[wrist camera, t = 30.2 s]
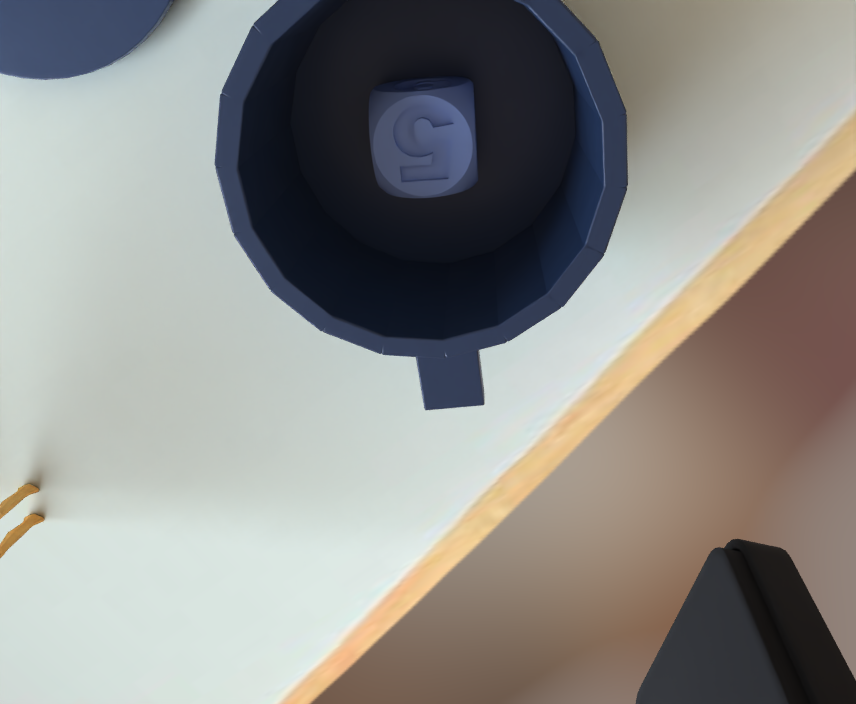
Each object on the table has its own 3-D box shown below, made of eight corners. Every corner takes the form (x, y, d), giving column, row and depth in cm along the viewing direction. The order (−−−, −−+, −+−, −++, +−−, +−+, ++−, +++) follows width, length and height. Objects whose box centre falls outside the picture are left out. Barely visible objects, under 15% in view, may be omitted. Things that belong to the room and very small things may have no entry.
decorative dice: (387, 176, 33) (376, 202, 29) (377, 81, 31) (364, 95, 28) (478, 170, 33) (478, 195, 29) (472, 73, 31) (472, 87, 27)
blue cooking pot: (581, -162, 27) (621, -209, 20) (599, 310, 36) (632, 402, 28) (225, -101, 29) (136, -123, 21) (323, 338, 37) (285, 432, 30)
